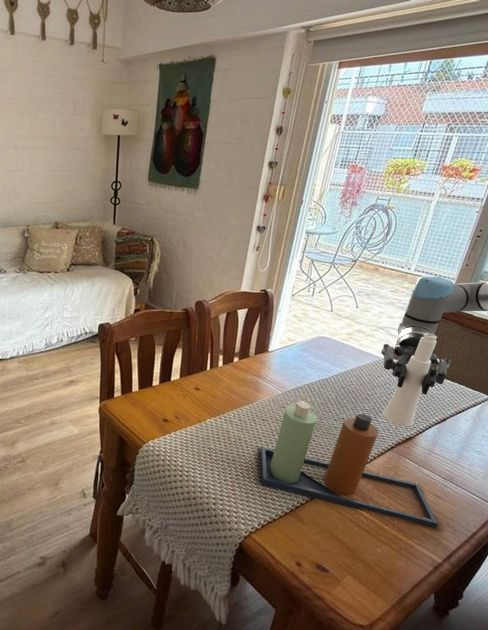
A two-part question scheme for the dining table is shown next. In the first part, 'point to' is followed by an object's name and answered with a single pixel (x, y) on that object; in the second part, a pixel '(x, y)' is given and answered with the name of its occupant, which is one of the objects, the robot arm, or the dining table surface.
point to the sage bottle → (293, 442)
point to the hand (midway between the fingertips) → (413, 385)
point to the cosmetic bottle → (411, 385)
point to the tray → (319, 491)
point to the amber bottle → (350, 455)
